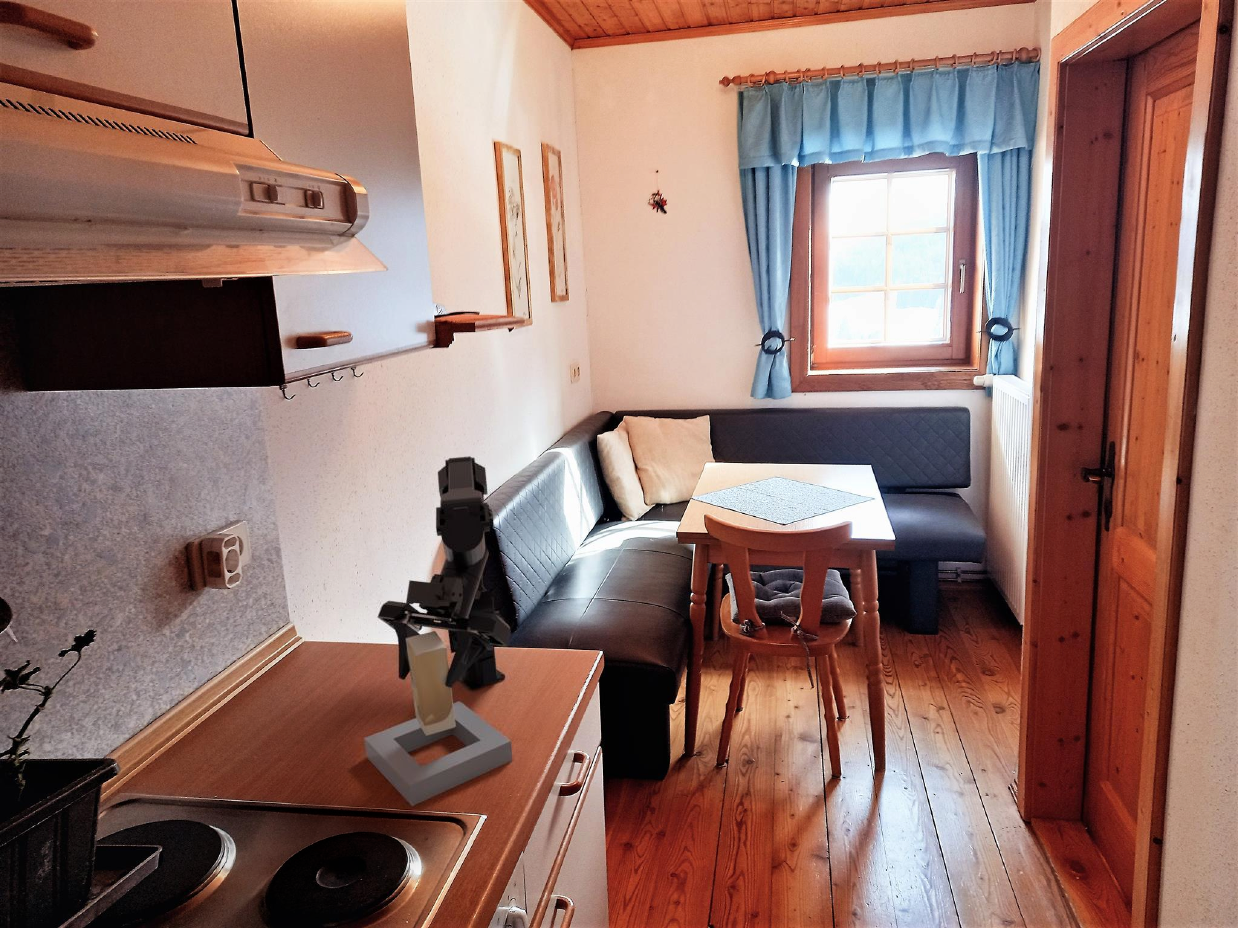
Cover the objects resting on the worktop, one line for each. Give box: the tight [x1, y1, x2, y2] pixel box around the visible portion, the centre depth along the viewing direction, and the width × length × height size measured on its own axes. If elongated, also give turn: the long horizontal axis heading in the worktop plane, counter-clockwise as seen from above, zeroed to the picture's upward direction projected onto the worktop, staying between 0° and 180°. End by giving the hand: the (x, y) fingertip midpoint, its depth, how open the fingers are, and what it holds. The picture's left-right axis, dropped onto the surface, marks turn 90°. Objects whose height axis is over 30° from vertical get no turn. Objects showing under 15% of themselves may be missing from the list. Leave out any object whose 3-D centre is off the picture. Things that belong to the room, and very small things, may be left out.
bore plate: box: [363, 701, 514, 807], centre depth 117 cm, size 15×15×3 cm
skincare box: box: [406, 630, 456, 736], centre depth 115 cm, size 6×4×12 cm
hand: (424, 682), depth 113 cm, fingers closed on skincare box, 7 cm apart
